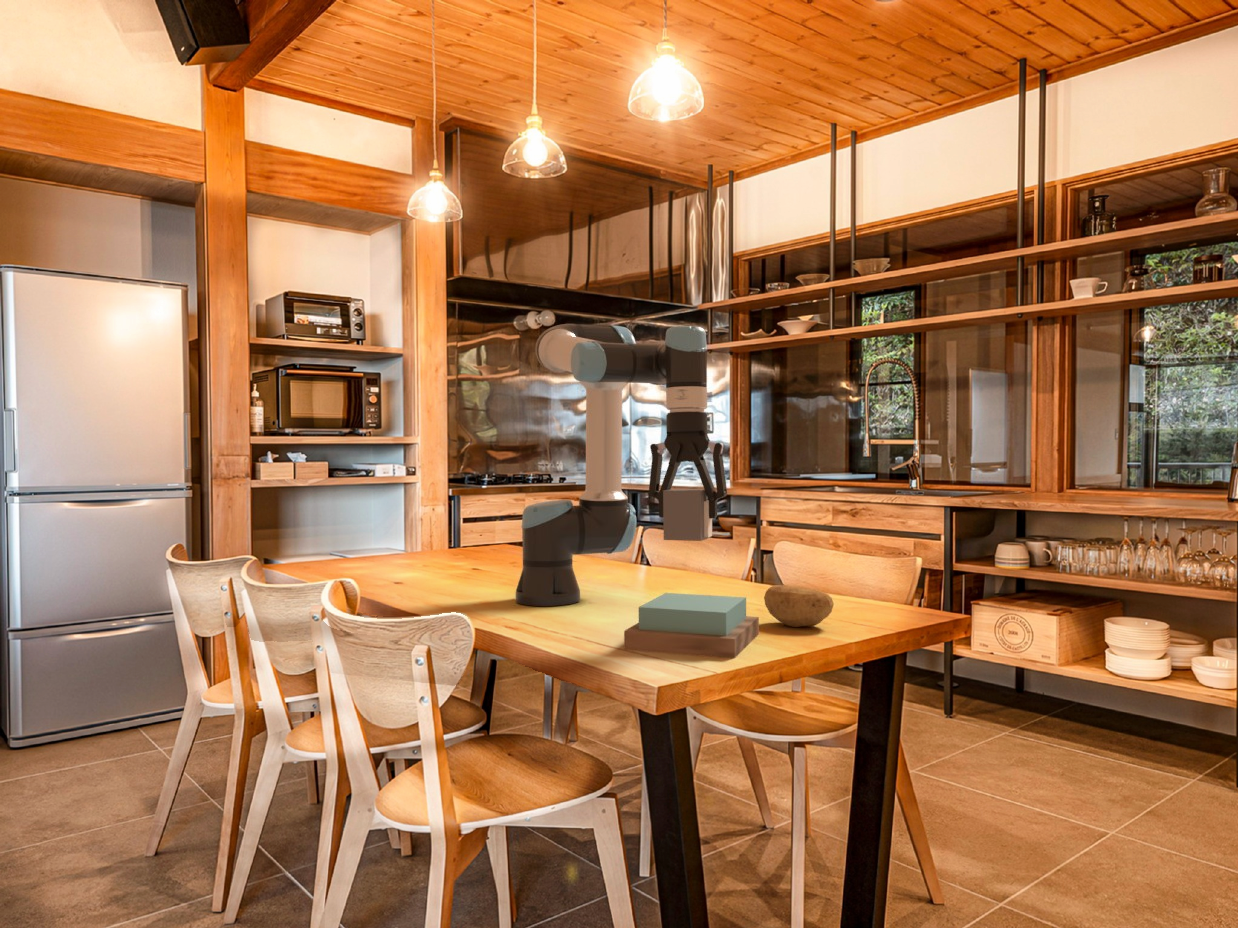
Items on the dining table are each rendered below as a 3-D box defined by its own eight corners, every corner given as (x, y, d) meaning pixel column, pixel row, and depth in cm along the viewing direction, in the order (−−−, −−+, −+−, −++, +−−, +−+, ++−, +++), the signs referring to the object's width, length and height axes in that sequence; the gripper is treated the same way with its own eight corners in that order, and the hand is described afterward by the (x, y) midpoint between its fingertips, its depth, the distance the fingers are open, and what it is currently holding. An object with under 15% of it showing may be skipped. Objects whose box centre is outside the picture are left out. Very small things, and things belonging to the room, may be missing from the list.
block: (675, 536, 166) (674, 488, 165) (711, 537, 163) (710, 488, 163) (663, 539, 159) (663, 490, 159) (700, 540, 156) (700, 490, 156)
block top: (665, 613, 171) (665, 592, 171) (746, 618, 166) (746, 597, 166) (638, 629, 156) (638, 607, 156) (726, 635, 151) (726, 612, 151)
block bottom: (659, 630, 174) (659, 610, 174) (758, 637, 167) (758, 616, 167) (624, 653, 156) (624, 630, 155) (734, 662, 148) (734, 638, 148)
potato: (821, 634, 166) (821, 592, 166) (755, 626, 175) (755, 586, 175) (842, 626, 174) (842, 586, 174) (778, 618, 182) (778, 580, 182)
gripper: (628, 412, 161) (630, 536, 161) (734, 408, 154) (736, 539, 154) (642, 413, 168) (643, 532, 168) (744, 410, 161) (745, 535, 161)
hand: (687, 535), depth 161 cm, fingers closed on block, 7 cm apart
